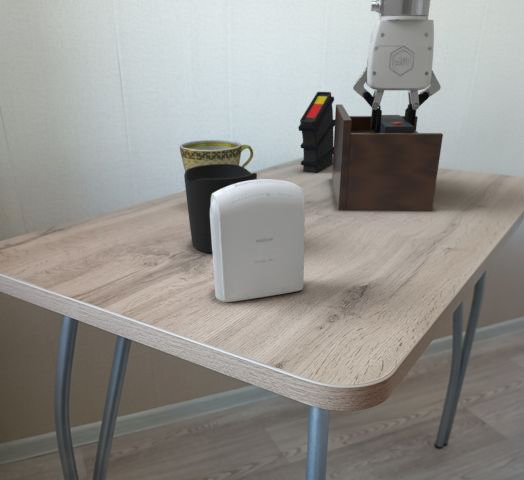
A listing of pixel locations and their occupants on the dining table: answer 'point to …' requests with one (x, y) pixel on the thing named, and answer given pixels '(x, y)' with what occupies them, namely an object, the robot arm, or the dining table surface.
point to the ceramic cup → (212, 153)
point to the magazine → (318, 133)
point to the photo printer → (257, 239)
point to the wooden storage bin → (383, 166)
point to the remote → (395, 124)
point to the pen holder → (208, 196)
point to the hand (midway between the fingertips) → (391, 132)
